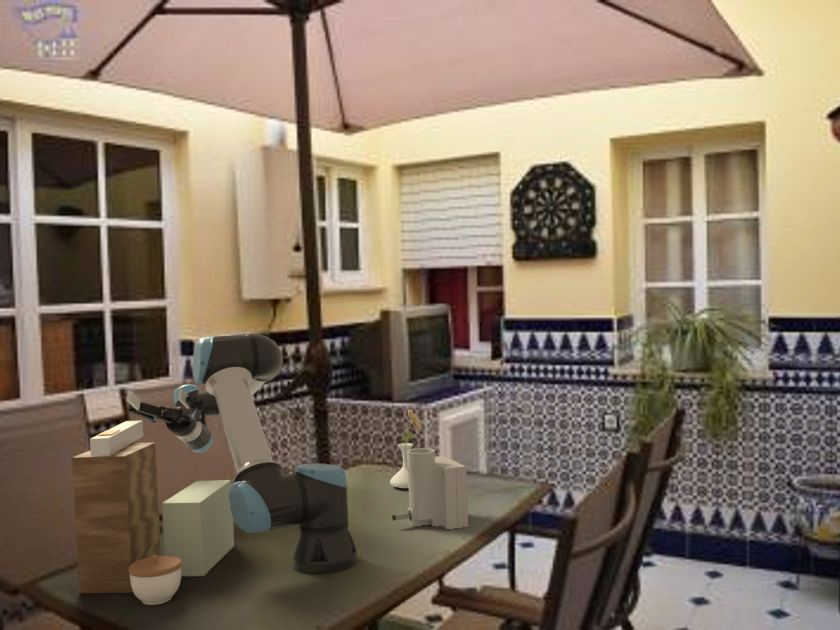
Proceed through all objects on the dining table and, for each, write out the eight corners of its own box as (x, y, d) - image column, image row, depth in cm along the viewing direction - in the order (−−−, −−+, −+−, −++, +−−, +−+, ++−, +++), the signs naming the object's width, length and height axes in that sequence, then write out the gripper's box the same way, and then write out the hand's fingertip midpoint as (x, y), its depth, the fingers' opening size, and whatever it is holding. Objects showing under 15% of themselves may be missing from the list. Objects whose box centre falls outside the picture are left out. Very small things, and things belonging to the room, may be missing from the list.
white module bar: (127, 437, 203) (126, 419, 203) (143, 436, 203) (142, 419, 203) (91, 457, 178) (89, 437, 178) (109, 456, 178) (108, 436, 178)
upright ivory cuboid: (200, 546, 210) (196, 480, 209) (234, 545, 209) (230, 480, 208) (165, 576, 188) (162, 503, 187) (203, 575, 187) (199, 502, 186)
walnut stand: (110, 568, 195) (104, 443, 194) (161, 567, 194) (155, 442, 193) (76, 593, 179) (69, 457, 178) (132, 592, 178) (124, 456, 177)
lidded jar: (153, 612, 166) (151, 567, 166) (119, 604, 172) (117, 560, 171) (194, 595, 175) (191, 551, 175) (160, 587, 181) (158, 545, 180)
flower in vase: (412, 492, 256) (409, 413, 256) (383, 489, 263) (379, 411, 262) (434, 483, 267) (431, 407, 267) (405, 480, 274) (402, 406, 273)
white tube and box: (469, 526, 217) (466, 452, 216) (403, 536, 210) (399, 459, 210) (446, 512, 232) (443, 442, 231) (384, 521, 226) (381, 449, 225)
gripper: (225, 435, 224) (199, 407, 205) (138, 438, 226) (104, 409, 207) (228, 410, 227) (203, 379, 209) (142, 412, 229) (110, 382, 211)
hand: (154, 394), depth 208 cm, fingers open, 13 cm apart
